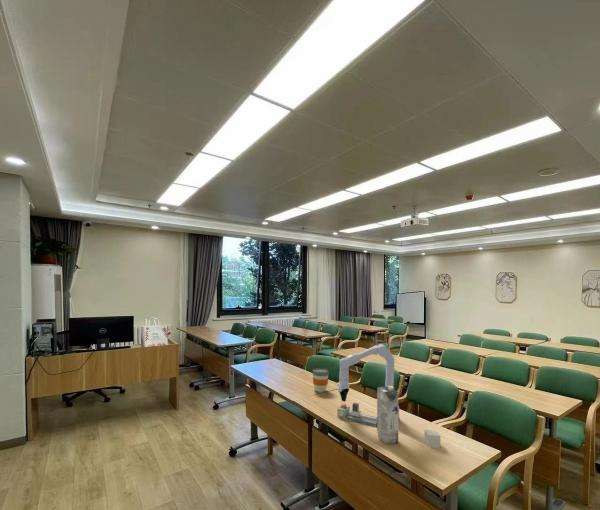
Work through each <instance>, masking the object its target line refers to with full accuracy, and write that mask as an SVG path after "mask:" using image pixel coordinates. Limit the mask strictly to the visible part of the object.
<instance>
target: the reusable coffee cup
mask: <svg viewBox="0 0 600 510" xmlns="http://www.w3.org/2000/svg"><path fill="white" fill-rule="evenodd" d="M329 373H330V372H329V369H327V368H314V369H312V383H313V387H314V388H313V389H314V392H316V391H318V392H317V393H324V392H323V391H325V392H326V391H327V385H329V384H328V383H329Z"/></svg>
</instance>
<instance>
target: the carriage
mask: <svg viewBox="0 0 600 510" xmlns="http://www.w3.org/2000/svg"><path fill="white" fill-rule="evenodd" d="M359 405H360V404H359V403H358V402H353V403H352V405H351V406H352V409H350V412H351V415H353V416H357V417H359V414H362V413H361V412H362V411H361V410H360V409H359V408H360V407H359Z"/></svg>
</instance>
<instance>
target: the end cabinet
mask: <svg viewBox="0 0 600 510" xmlns="http://www.w3.org/2000/svg"><path fill="white" fill-rule="evenodd" d="M350 408H351V406H350V405H347V404H346V409H344V408H341V405H340V406H338V408H337V413H336V415H337V418H340V417H342V418H341V419H344V418H345V417H346V416H347V415H348V414H349V412H351V409H350Z"/></svg>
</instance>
